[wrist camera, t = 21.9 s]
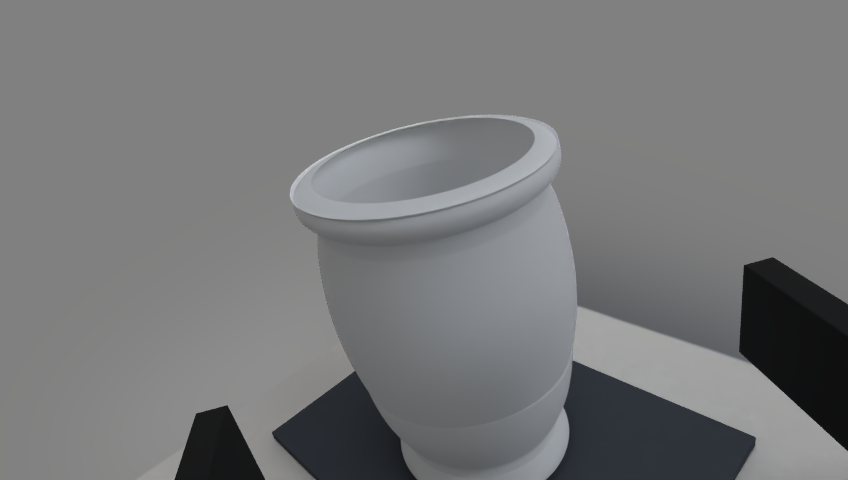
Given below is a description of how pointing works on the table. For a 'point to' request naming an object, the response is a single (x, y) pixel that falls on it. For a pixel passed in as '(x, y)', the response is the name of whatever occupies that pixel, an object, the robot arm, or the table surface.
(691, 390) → the table surface
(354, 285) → the jar
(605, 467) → the mat
